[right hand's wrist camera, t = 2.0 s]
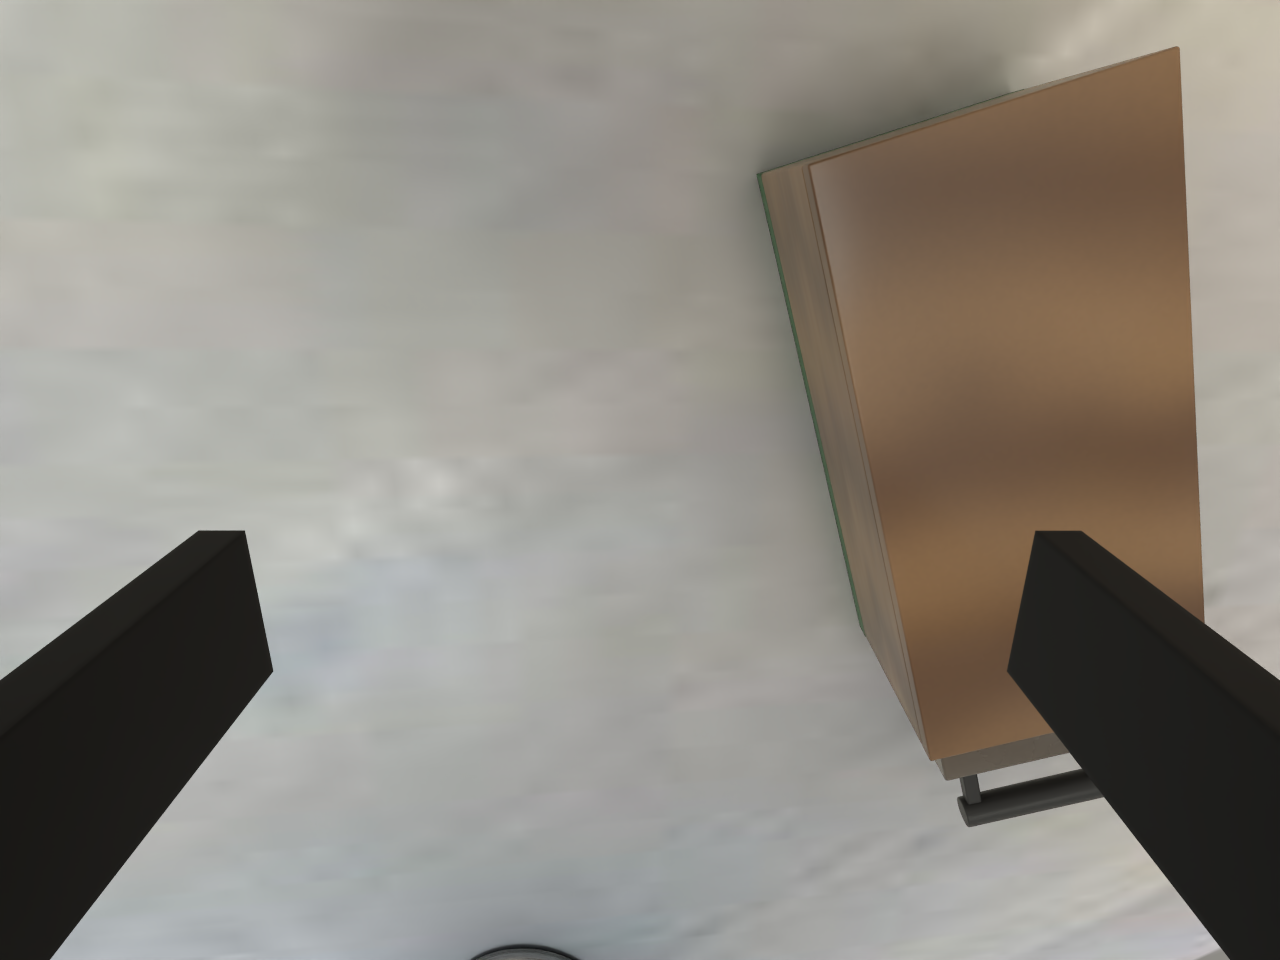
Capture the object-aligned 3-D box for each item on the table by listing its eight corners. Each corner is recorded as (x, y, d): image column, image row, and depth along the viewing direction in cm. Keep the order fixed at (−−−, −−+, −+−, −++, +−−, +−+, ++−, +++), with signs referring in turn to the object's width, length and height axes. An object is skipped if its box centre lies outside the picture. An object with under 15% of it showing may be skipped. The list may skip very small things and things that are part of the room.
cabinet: (1067, 573, 35) (1209, 697, 26) (860, 626, 36) (930, 762, 27) (1012, 92, 28) (1180, 44, 19) (756, 174, 29) (806, 163, 20)
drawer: (1078, 709, 36) (1182, 829, 29) (903, 750, 37) (964, 876, 30) (1017, 183, 28) (1141, 178, 21) (794, 252, 29) (843, 269, 22)
